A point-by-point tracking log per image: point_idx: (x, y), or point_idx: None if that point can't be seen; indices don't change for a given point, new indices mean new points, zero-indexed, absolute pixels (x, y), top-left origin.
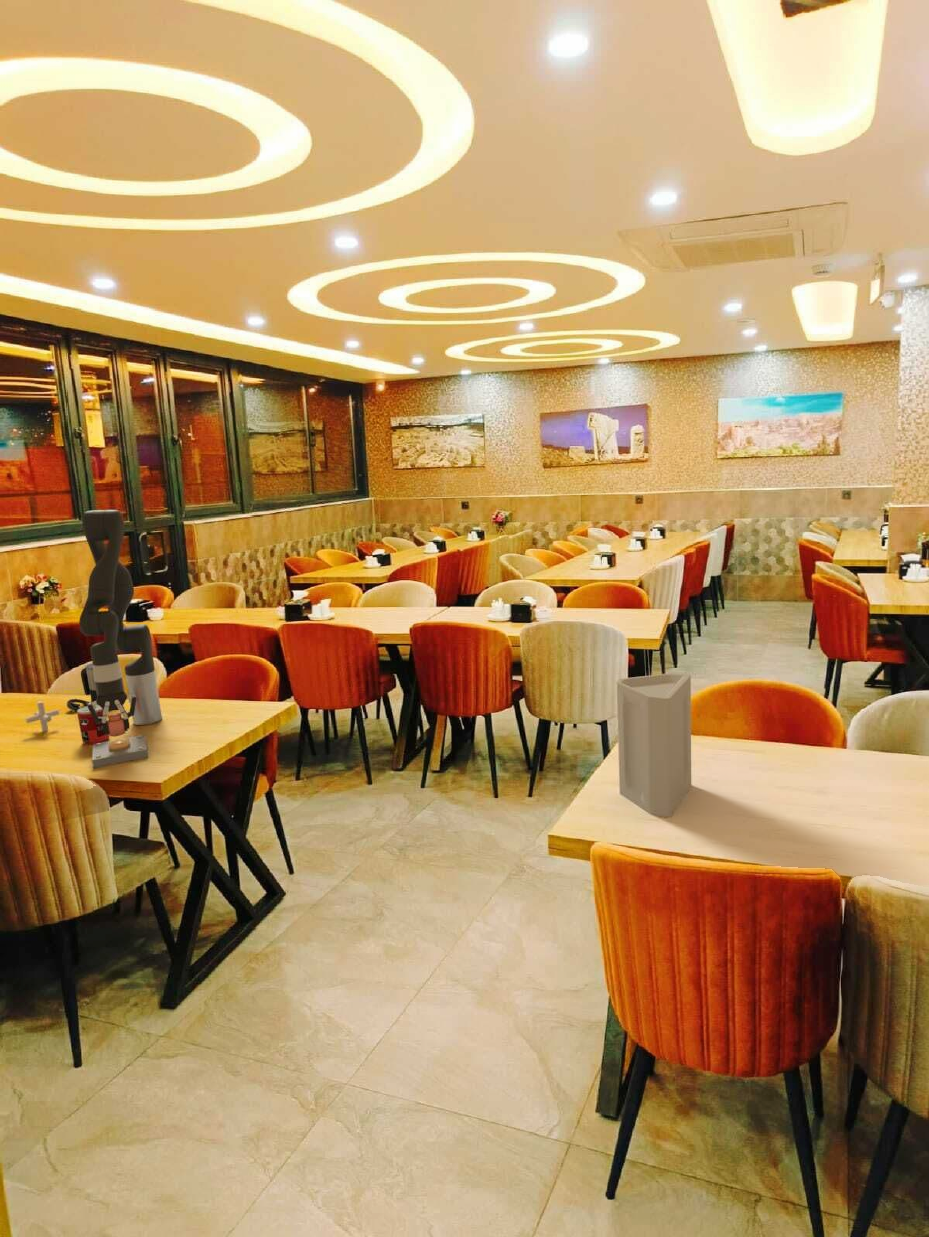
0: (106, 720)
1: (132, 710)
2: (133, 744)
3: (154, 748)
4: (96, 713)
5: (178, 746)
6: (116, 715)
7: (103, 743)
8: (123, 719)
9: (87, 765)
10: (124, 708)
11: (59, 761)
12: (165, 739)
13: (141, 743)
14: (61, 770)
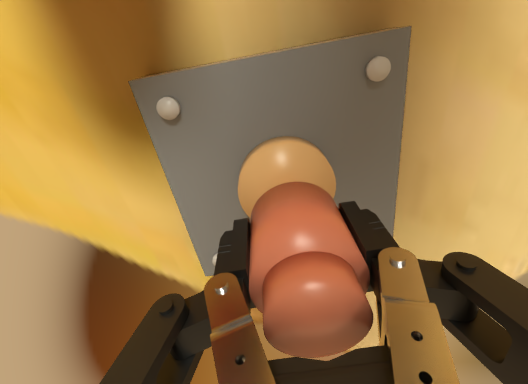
0: (245, 293)
1: (485, 343)
2: (343, 174)
3: (411, 146)
4: (157, 366)
5: (498, 162)
6: (336, 345)
7: (189, 95)
8: (366, 282)
9: (179, 226)
10: (433, 308)
11: (28, 145)
12: (483, 31)
13: (378, 175)
14: (99, 238)
